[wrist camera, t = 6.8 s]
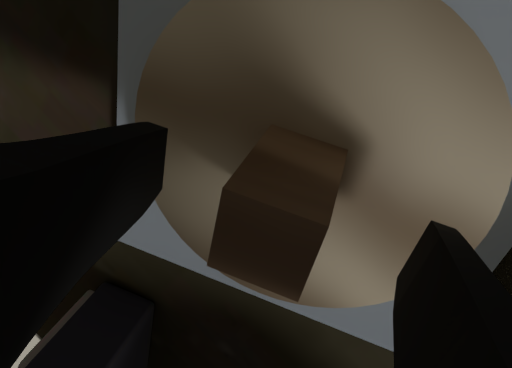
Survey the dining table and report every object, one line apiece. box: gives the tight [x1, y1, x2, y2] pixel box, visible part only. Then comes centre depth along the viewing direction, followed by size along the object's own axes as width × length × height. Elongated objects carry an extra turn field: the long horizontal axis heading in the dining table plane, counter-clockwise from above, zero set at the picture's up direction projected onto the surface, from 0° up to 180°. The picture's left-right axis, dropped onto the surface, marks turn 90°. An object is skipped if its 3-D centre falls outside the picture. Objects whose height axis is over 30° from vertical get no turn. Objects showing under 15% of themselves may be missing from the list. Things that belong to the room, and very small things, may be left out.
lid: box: [135, 0, 512, 308], centre depth 11 cm, size 12×12×5 cm
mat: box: [117, 0, 512, 352], centre depth 13 cm, size 14×14×1 cm
